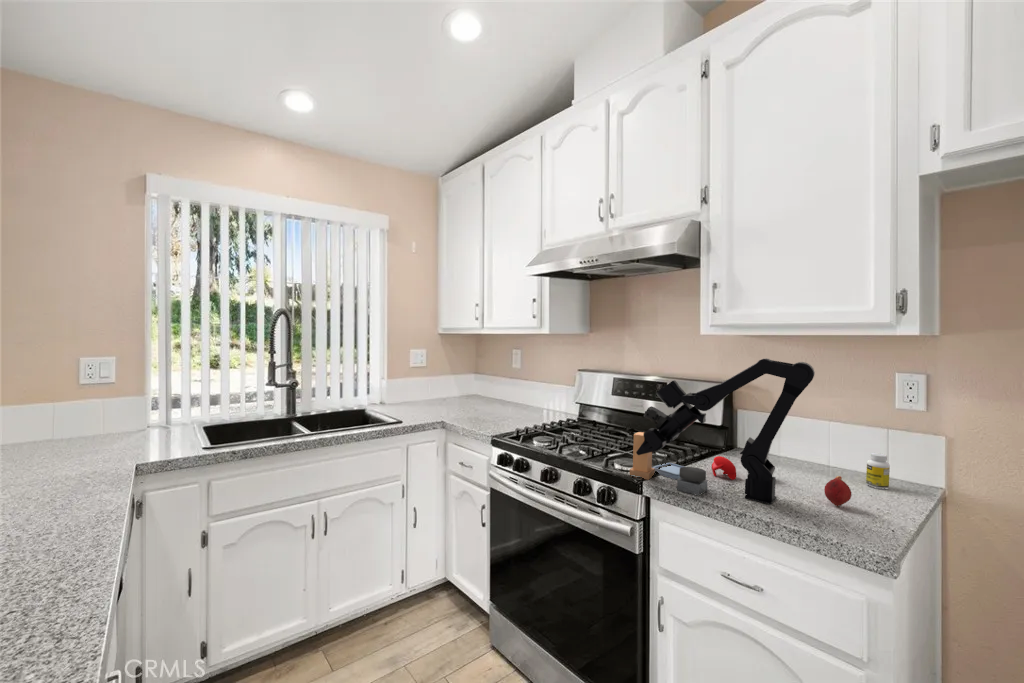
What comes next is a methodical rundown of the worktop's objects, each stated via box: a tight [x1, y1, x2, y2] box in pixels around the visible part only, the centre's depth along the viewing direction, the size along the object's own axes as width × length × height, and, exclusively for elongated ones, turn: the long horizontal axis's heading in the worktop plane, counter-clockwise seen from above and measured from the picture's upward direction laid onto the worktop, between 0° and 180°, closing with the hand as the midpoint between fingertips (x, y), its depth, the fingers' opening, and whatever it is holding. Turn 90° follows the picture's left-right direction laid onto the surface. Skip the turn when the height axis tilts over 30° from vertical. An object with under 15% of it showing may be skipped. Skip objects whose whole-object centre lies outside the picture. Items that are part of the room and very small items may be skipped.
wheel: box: [679, 466, 707, 482], centre depth 133 cm, size 7×7×5 cm
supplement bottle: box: [865, 452, 891, 489], centre depth 139 cm, size 5×5×10 cm
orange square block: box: [628, 431, 656, 481], centre depth 146 cm, size 6×6×13 cm
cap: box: [711, 455, 737, 481], centre depth 146 cm, size 8×6×6 cm
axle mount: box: [676, 478, 709, 496], centre depth 133 cm, size 6×6×3 cm
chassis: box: [652, 462, 685, 480], centre depth 149 cm, size 12×10×2 cm
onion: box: [823, 475, 852, 507], centre depth 123 cm, size 6×6×8 cm
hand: (642, 450), depth 146 cm, fingers open, 9 cm apart
